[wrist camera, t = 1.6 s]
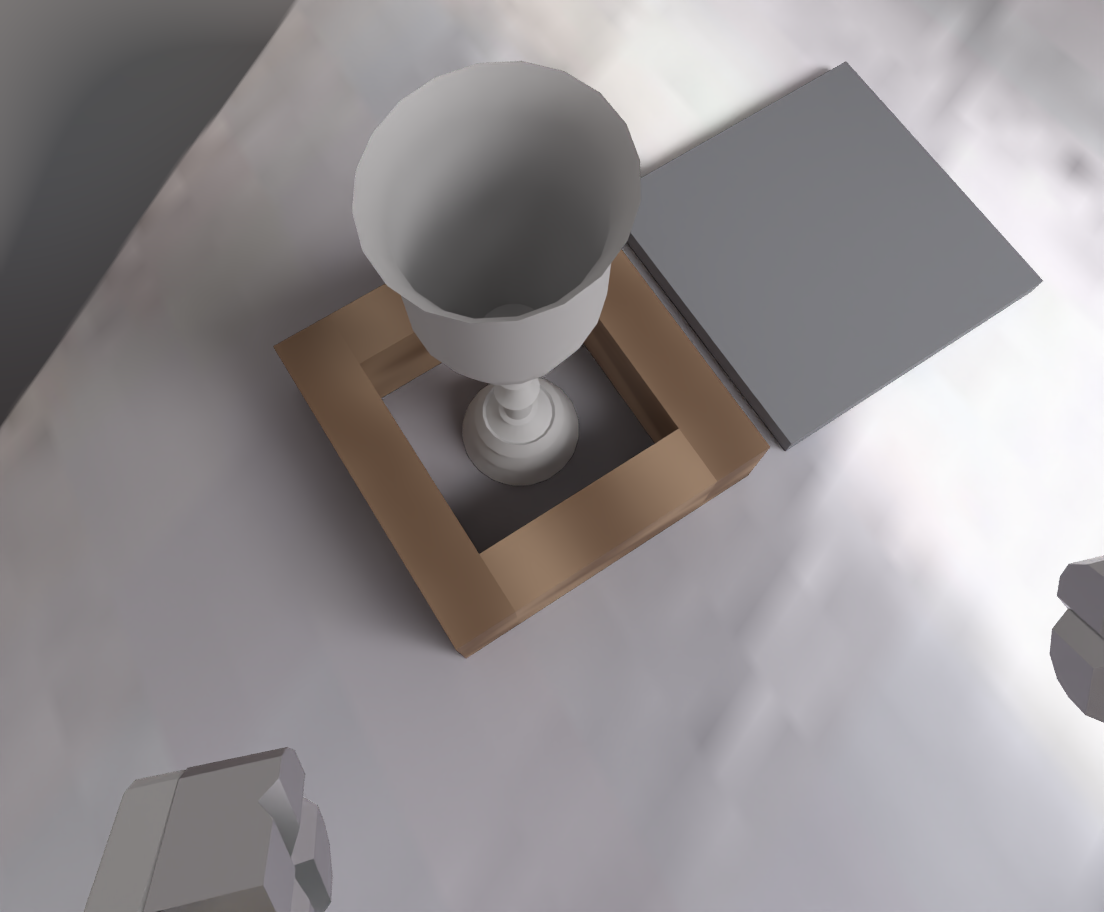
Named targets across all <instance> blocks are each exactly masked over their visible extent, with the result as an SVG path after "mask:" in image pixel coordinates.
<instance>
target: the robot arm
mask: <svg viewBox="0 0 1104 912" xmlns="http://www.w3.org/2000/svg"><path fill="white" fill-rule="evenodd" d="M1057 596H1058V598H1059V599H1060V600H1061V601H1062V602H1063V604H1064V605H1065V606H1066V607H1067V608H1068V610H1067V611H1066V612H1065V613H1064V615H1063V616H1062V617H1061V618H1060V620H1059V621H1058V622H1057V623H1056V625H1055V626H1054V627H1053V628H1052V635H1051V646H1050V656H1051V660H1052V663H1053V666H1054V670H1055V673H1056V676H1057V679H1058V681H1059V683H1060V684H1061V686H1062V687H1063V689H1064V691H1065V692H1066V694H1067V695H1068V697H1069V698H1070V699H1071V700H1072V701H1073V702H1074V703H1075V704H1076V706H1077V707H1078V708H1079V709H1080V710H1081V711H1082V712H1083V713H1084V714H1085V715H1087V716H1089V717H1091V718H1094V719H1096V720H1099V721H1101V722H1103V723H1104V555H1103V556H1099V557H1095V558H1091V559H1087V560H1083V561H1079V562H1075V563H1071V564H1068V566H1067V567H1066V569H1065V570H1064V571H1063V573H1062V574H1061V576H1060V580H1059V586H1058V592H1057ZM304 781H305V772H304V770H303V767H302V765H301V763H300V761H299V759H298V756H297V754H296V752H295V750H293V749H291V748H288V747H285V748H280V749H275V750H270V751H266V752H261V753H256V754H251V755H247V756H242V757H237V758H232V759H227V760H223V761H218V762H213V763H208V764H204V765H199V766H194V767H189V768H187V769H186V770H181V771H176V772H171V773H166V774H161V775H156V776H152V777H147V778H142V779H137V780H135V781H134V782H133V783H132V784H131V785H130V786H129V787H128V789H127V790H126V791H125V793H124V794H123V797H122V800H121V803H120V806H119V809H118V812H117V815H116V818H115V821H114V824H113V827H112V830H111V832H110V835H109V838H108V841H107V844H106V847H105V850H104V853H103V856H102V859H101V862H100V865H99V868H98V871H97V874H96V877H95V880H94V883H93V886H92V889H91V892H90V895H89V898H88V901H87V903H86V906H85V909H84V912H325V910H326V909H327V907H328V906H329V904H330V903H331V896H332V864H331V853H330V844H329V839H328V835H327V831H326V827H325V823H324V820H323V817H322V815H321V812H320V809H319V807H318V805H317V804H315V803H313V802H312V801H310V800H308V799H306V798H304V797H303V791H304Z"/></svg>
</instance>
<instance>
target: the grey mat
mask: <svg viewBox="0 0 1104 912" xmlns="http://www.w3.org/2000/svg"><path fill="white" fill-rule="evenodd" d="M640 191H641V202H640V205H639V208H638V211H637V214H636V217H635V220H634V223H633V226H632V229H631V232H630V235H629V238H628V241H627V242H628V244H629V245H630V246H631V248H632V249H633V250H634V252H635V253H636V254H637V256H638V257H639V258H640V260H641V261H642V262H643V264H644V265H645V266H646V268H647V269H648V270H649V272H650V273H651V274H652V276H653V277H654V278H655V279H656V281H657V282H658V283H659V285H660V286H661V287H662V289H663V290H664V291H665V293H666V294H667V295H668V297H669V298H670V299H671V301H672V302H673V303H674V305H675V306H676V307H677V309H678V310H679V311H680V312H681V314H682V315H683V316H684V318H685V319H686V320H687V322H688V323H689V324H690V326H691V327H692V328H693V330H694V331H695V332H696V334H697V335H698V336H699V338H700V339H701V340H702V342H703V343H704V344H705V346H706V347H707V348H708V349H709V351H710V352H711V353H712V355H713V356H714V357H715V359H716V360H717V361H718V363H719V364H720V365H721V367H722V368H723V369H724V371H725V372H726V373H727V375H728V376H729V377H730V379H731V380H732V381H733V382H734V384H735V385H736V386H737V388H738V389H739V390H740V392H741V393H742V394H743V396H744V397H745V398H746V400H747V401H748V402H749V404H750V405H751V406H752V408H753V409H754V410H755V412H756V413H757V414H758V416H759V417H760V418H761V419H762V421H763V422H764V423H765V425H766V426H767V427H768V429H769V430H770V431H771V433H772V434H773V435H774V437H775V438H776V439H777V441H778V442H779V443H780V445H781V446H782V447H783V449H784V450H785V451H786V450H788V449H790V448H791V447H793V446H794V445H796V444H797V443H799V442H800V441H802V440H803V439H805V438H806V437H808V436H810V435H811V434H813V433H814V432H816V431H817V430H819V429H820V428H822V427H823V426H825V425H826V424H828V423H830V422H831V421H833V420H834V419H836V418H837V417H839V416H840V415H842V414H843V413H845V412H847V411H848V410H850V409H851V408H853V407H854V406H856V405H857V404H859V403H860V402H862V401H863V400H865V399H867V398H868V397H870V396H871V395H873V394H874V393H876V392H877V391H879V390H880V389H882V388H883V387H885V386H887V385H888V384H890V383H891V382H893V381H894V380H896V379H897V378H899V377H900V376H902V375H904V374H905V373H907V372H908V371H910V370H911V369H913V368H914V367H916V366H917V365H919V364H920V363H922V362H924V361H925V360H927V359H928V358H930V357H931V356H933V355H934V354H936V353H937V352H939V351H940V350H942V349H944V348H945V347H947V346H948V345H950V344H951V343H953V342H954V341H956V340H957V339H959V338H961V337H962V336H964V335H965V334H967V333H968V332H970V331H971V330H973V329H974V328H976V327H977V326H979V325H981V324H982V323H984V322H985V321H987V320H988V319H990V318H991V317H993V316H994V315H996V314H997V313H999V312H1001V311H1002V310H1004V309H1005V308H1007V307H1008V306H1010V305H1011V304H1013V303H1014V302H1016V301H1018V300H1019V299H1021V298H1022V297H1024V296H1025V295H1027V294H1028V293H1030V292H1031V291H1032V290H1034V289H1035V288H1036V287H1037V286H1038V285H1039V284H1040V283H1041V282H1042V281H1043V280H1042V279H1041V278H1040V277H1039V276H1038V275H1037V274H1036V272H1035V271H1034V270H1033V269H1032V268H1031V267H1030V266H1029V265H1028V263H1027V262H1026V261H1025V260H1024V259H1023V258H1022V257H1021V256H1020V255H1019V253H1018V252H1017V251H1016V250H1015V249H1014V248H1013V247H1012V246H1011V245H1010V243H1009V242H1008V241H1007V240H1006V239H1005V238H1004V237H1003V236H1002V235H1001V233H1000V232H999V231H998V230H997V229H996V228H995V227H994V226H993V225H992V223H991V222H990V221H989V220H988V219H987V218H986V217H985V216H984V214H983V213H982V212H981V211H980V210H979V209H978V208H977V207H976V206H975V204H974V203H973V202H972V201H971V200H970V199H969V198H968V197H967V196H966V194H965V193H964V192H963V191H962V190H961V189H960V188H959V187H958V186H957V184H956V183H955V182H954V181H953V180H952V179H951V178H950V177H949V175H948V174H947V173H946V172H945V171H944V170H943V169H942V168H941V167H940V165H939V164H938V163H937V162H936V161H935V160H934V159H933V158H932V157H931V155H930V154H929V153H928V152H927V151H926V150H925V149H924V148H923V147H922V145H921V144H920V143H919V142H918V141H917V140H916V139H915V138H914V137H913V135H912V134H911V133H910V132H909V131H908V130H907V129H906V128H905V126H904V125H903V124H902V123H901V122H900V121H899V120H898V119H897V118H896V116H895V115H894V114H893V113H892V112H891V111H890V110H889V109H888V108H887V106H886V105H885V104H884V103H883V102H882V101H881V100H880V99H879V98H878V96H877V95H876V94H875V93H874V92H873V91H872V90H871V89H870V88H869V86H868V85H867V84H866V83H865V82H864V81H863V80H862V79H861V77H860V76H859V75H858V74H857V73H856V72H855V71H854V70H853V69H852V67H851V66H850V65H849V64H848V63H847V62H844V63H842V64H841V65H839V66H837V67H835V68H833V69H832V70H830V71H828V72H826V73H825V74H823V75H821V76H819V77H818V78H816V79H814V80H812V81H811V82H809V83H807V84H805V85H804V86H802V87H800V88H798V89H797V90H795V91H793V92H791V93H790V94H788V95H786V96H784V97H782V98H781V99H779V100H777V101H775V102H774V103H772V104H770V105H768V106H767V107H765V108H763V109H761V110H760V111H758V112H756V113H754V114H753V115H751V116H749V117H747V118H746V119H744V120H742V121H740V122H738V123H737V124H735V125H733V126H731V127H730V128H728V129H726V130H724V131H723V132H721V133H719V134H717V135H716V136H714V137H712V138H710V139H709V140H707V141H705V142H703V143H702V144H700V145H698V146H696V147H695V148H693V149H691V150H689V151H687V152H686V153H684V154H682V155H680V156H679V157H677V158H675V159H673V160H672V161H670V162H668V163H666V164H665V165H663V166H661V167H659V168H658V169H656V170H654V171H652V172H651V173H649V174H647V175H645V176H644V177H642V178H640Z"/></svg>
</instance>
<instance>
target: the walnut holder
mask: <svg viewBox="0 0 1104 912" xmlns="http://www.w3.org/2000/svg"><path fill="white" fill-rule="evenodd" d="M583 343H584V345H585V346H586V347H587V349H588V350H589V352H590V353H591V354H592V356H593V357H594V359H595V360H596V361H597V363H598V364H599V366H600V367H601V368H602V370H603V371H604V373H605V374H606V375H607V377H608V378H609V380H610V381H611V382H612V384H613V385H614V387H615V388H616V389H617V391H618V392H619V394H620V395H621V396H622V398H623V399H624V401H625V402H626V403H627V405H628V406H629V408H630V409H631V410H632V412H633V413H634V415H635V416H636V417H637V419H638V420H639V422H640V423H641V424H642V426H643V427H644V429H645V430H646V431H647V433H648V434H649V436H650V437H651V438H652V440H653V441H654V443H655V444H654V445H652V446H650V447H649V448H647V449H646V450H644V451H642V452H641V453H639V454H638V455H636V456H634V457H633V458H631V459H630V460H628V461H627V462H625V463H623V464H622V465H620V466H619V467H617V468H615V469H614V470H612V471H611V472H609V473H607V474H606V475H604V476H603V477H601V478H599V479H598V480H596V481H595V482H593V483H592V484H590V485H588V486H587V487H585V488H584V489H582V490H580V491H579V492H577V493H576V494H574V495H572V496H571V497H569V498H568V499H566V500H564V501H563V502H561V503H560V504H558V505H557V506H555V507H553V508H552V509H550V510H549V511H547V512H545V513H544V514H542V515H541V516H539V517H537V518H536V519H534V520H533V521H531V522H530V523H528V524H526V525H525V526H523V527H522V528H520V529H518V530H517V531H515V532H514V533H512V534H510V535H509V536H507V537H506V538H504V539H502V540H501V541H499V542H498V543H496V544H495V545H493V546H491V547H490V548H488V549H487V550H485V551H483V552H482V553H480V554H479V553H478V551H477V550H476V548H475V547H474V545H473V543H472V542H471V540H470V539H469V537H468V535H467V534H466V532H465V531H464V529H463V528H462V526H461V524H460V523H459V521H458V520H457V518H456V516H455V515H454V513H453V512H452V510H451V508H450V507H449V505H448V504H447V502H446V501H445V499H444V497H443V496H442V494H441V493H440V491H439V489H438V488H437V486H436V485H435V483H434V482H433V480H432V478H431V477H430V475H429V474H428V472H427V470H426V469H425V467H424V466H423V464H422V462H421V461H420V459H419V458H418V456H417V455H416V453H415V451H414V450H413V448H412V447H411V445H410V443H409V442H408V440H407V439H406V437H405V435H404V434H403V432H402V431H401V429H400V428H399V426H398V424H397V423H396V421H395V420H394V418H393V416H392V415H391V413H390V412H389V410H388V408H387V407H386V405H385V404H384V402H383V401H382V399H381V398H382V397H384V396H386V395H387V394H389V393H391V392H392V391H394V390H396V389H398V388H399V387H401V386H403V385H404V384H406V383H408V382H410V381H411V380H413V379H415V378H416V377H418V376H420V375H422V374H423V373H425V372H427V371H428V370H430V369H432V368H434V367H435V366H437V365H439V364H440V363H442V362H440V361H439V360H437V359H436V358H434V357H433V356H431V355H430V353H429V352H428V351H427V349H426V348H425V346H424V345H423V344H422V342H421V341H420V339H419V338H418V337H417V335H416V334H415V332H414V331H413V329H412V326H411V323H410V320H409V317H408V314H407V312H406V309H405V306H404V303H403V300H402V297H401V295H400V294H398V293H397V292H395V291H394V290H393V289H391V288H390V287H388V286H387V285H386V284H384V285H382V286H380V287H378V288H376V289H375V290H373V291H371V292H369V293H367V294H366V295H364V296H362V297H360V298H359V299H357V300H355V301H353V302H351V303H350V304H348V305H346V306H344V307H342V308H341V309H339V310H337V311H335V312H334V313H332V314H330V315H328V316H326V317H325V318H323V319H321V320H319V321H317V322H316V323H314V324H312V325H310V326H309V327H307V328H305V329H303V330H301V331H300V332H298V333H296V334H294V335H292V336H291V337H289V338H287V339H285V340H284V341H282V342H280V343H278V344H276V345H275V346H273V347H274V349H275V350H276V352H277V354H278V355H279V357H280V359H281V360H282V362H283V364H284V365H285V367H286V369H287V370H288V372H289V374H290V375H291V377H292V379H293V380H294V382H295V384H296V385H297V387H298V389H299V390H300V392H301V394H302V395H303V397H304V399H305V400H306V402H307V404H308V405H309V407H310V409H311V410H312V412H313V413H314V415H315V417H316V418H317V420H318V422H319V423H320V425H321V427H322V428H323V430H324V432H325V433H326V435H327V437H328V438H329V440H330V442H331V443H332V445H333V447H334V448H335V450H336V452H337V453H338V455H339V457H340V458H341V460H342V462H343V463H344V465H345V467H346V468H347V470H348V472H349V473H350V475H351V476H352V478H353V480H354V481H355V483H356V485H357V486H358V488H359V490H360V491H361V493H362V495H363V496H364V498H365V500H366V501H367V503H368V505H369V506H370V508H371V510H372V511H373V513H374V515H375V516H376V518H377V520H378V521H379V523H380V525H381V526H382V528H383V530H384V531H385V533H386V535H387V536H388V538H389V539H390V541H391V543H392V544H393V546H394V548H395V549H396V551H397V553H398V554H399V556H400V558H401V559H402V561H403V563H404V564H405V566H406V568H407V569H408V571H409V573H410V574H411V576H412V578H413V579H414V581H415V583H416V584H417V586H418V588H419V589H420V591H421V593H422V594H423V596H424V598H425V599H426V601H427V602H428V604H429V606H430V607H431V609H432V611H433V612H434V614H435V616H436V617H437V619H438V621H439V622H440V624H441V626H442V627H443V629H444V631H445V632H446V634H447V636H448V637H449V639H450V641H451V642H452V644H453V646H454V647H455V649H456V650H457V651H458V652H459V653H460V654H462V655H463V656H464V657H465V658H468V657H469V656H471V655H472V654H474V653H475V652H477V651H478V650H480V649H481V648H483V647H484V646H486V645H488V644H489V643H491V642H492V641H494V640H495V639H497V638H498V637H500V636H501V635H503V634H505V633H506V632H508V631H509V630H511V629H512V628H514V627H515V626H517V625H518V624H520V623H521V622H523V621H525V620H526V619H528V618H529V617H531V616H532V615H534V614H535V613H537V612H538V611H540V610H541V609H543V608H545V607H546V606H548V605H549V604H551V603H552V602H554V601H555V600H557V599H558V598H560V597H562V596H563V595H565V594H566V593H568V592H569V591H571V590H572V589H574V588H575V587H577V586H578V585H580V584H582V583H583V582H585V581H586V580H588V579H589V578H591V577H592V576H594V575H595V574H597V573H598V572H600V571H602V570H603V569H605V568H606V567H608V566H609V565H611V564H612V563H614V562H615V561H617V560H619V559H620V558H622V557H623V556H625V555H626V554H628V553H629V552H631V551H632V550H634V549H635V548H637V547H639V546H640V545H642V544H643V543H645V542H646V541H648V540H649V539H651V538H652V537H654V536H655V535H657V534H659V533H660V532H662V531H663V530H665V529H666V528H668V527H669V526H671V525H672V524H674V523H676V522H677V521H679V520H680V519H682V518H683V517H685V516H686V515H688V514H689V513H691V512H692V511H694V510H696V509H697V508H699V507H700V506H702V505H703V504H705V503H706V502H708V501H709V500H711V499H712V498H714V497H716V496H717V495H719V494H720V493H722V492H723V491H725V490H726V489H728V488H729V487H731V486H733V485H734V484H736V483H737V482H739V481H740V480H742V479H743V478H745V477H746V476H748V475H749V473H750V472H751V471H752V470H753V468H754V467H755V466H756V465H757V463H758V462H759V461H760V459H761V458H762V457H763V456H764V454H765V453H766V452H767V450H768V449H769V448H770V446H769V445H768V443H767V442H766V441H765V439H764V438H763V437H762V435H761V434H760V433H759V431H758V430H757V429H756V427H755V426H754V425H753V423H752V422H751V421H750V419H749V418H748V417H747V415H746V414H745V413H744V411H743V410H742V409H741V407H740V406H739V405H738V404H737V402H736V401H735V400H734V398H733V397H732V396H731V394H730V393H729V392H728V390H727V389H726V388H725V386H724V385H723V384H722V382H721V381H720V380H719V378H718V377H717V376H716V374H715V373H714V372H713V370H712V369H711V368H710V366H709V365H708V364H707V362H706V361H705V360H704V358H703V357H702V356H701V354H700V353H699V352H698V350H697V349H696V348H695V346H694V345H693V344H692V342H691V341H690V340H689V338H688V337H687V336H686V334H685V333H684V332H683V330H682V329H681V328H680V326H679V325H678V324H677V322H676V321H675V320H674V319H673V317H672V316H671V315H670V313H669V312H668V311H667V309H666V308H665V307H664V305H663V304H662V303H661V301H660V300H659V299H658V297H657V296H656V295H655V293H654V292H653V291H652V289H651V288H650V287H649V285H648V284H647V283H646V281H645V280H644V279H643V277H642V276H641V275H640V273H639V272H638V271H637V269H636V268H635V267H634V265H633V264H632V263H631V261H630V260H629V259H628V257H627V256H626V255H625V253H624V252H623V251H622V249H621V250H620V252H619V253H618V254H617V256H616V257H615V259H614V260H613V261H612V263H611V268H610V276H609V283H608V291H607V296H606V299H605V302H604V305H603V308H602V311H601V314H600V317H599V320H598V323H597V324H596V326H595V327H594V328H593V330H592V331H591V333H590V334H589V335H588V337H587V338H586V339H585V341H584V342H583Z"/></svg>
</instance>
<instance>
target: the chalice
mask: <svg viewBox="0 0 1104 912" xmlns="http://www.w3.org/2000/svg"><path fill="white" fill-rule="evenodd" d="M640 202H641V191H640V159H639V157H638V154H637V151H636V149H635V146H634V143H633V140H632V138H631V135H630V132H629V130H628V127H627V124H626V123H625V122H624V120H623V119H622V118H621V117H620V116H619V115H618V113H617V112H616V111H615V110H614V109H613V107H612V106H611V105H610V104H609V103H608V102H607V100H606V99H605V98H604V97H603V96H602V94H601V93H600V92H598V91H596V90H595V89H593V88H591V87H590V86H588V85H586V84H585V83H583V82H581V81H580V80H578V79H576V78H575V77H573V76H571V75H570V74H568V73H566V72H565V71H561V70H557V69H553V68H549V67H544V66H540V65H536V64H532V63H528V62H524V61H514V62H493V63H477V64H474V65H471V66H468V67H465V68H462V69H459V70H456V71H453V72H450V73H447V74H444V75H441V76H438V77H435V78H434V79H432V80H431V81H429V82H428V83H426V84H425V85H423V86H422V87H420V88H419V89H417V90H416V91H414V92H413V93H411V94H410V95H408V96H407V97H405V98H404V99H402V100H401V101H400V102H399V103H398V104H397V105H396V106H395V107H394V108H393V110H392V111H391V112H390V113H389V114H388V115H387V117H386V118H385V119H384V120H383V121H382V122H381V124H380V125H379V126H378V127H377V128H376V129H375V130H374V132H373V133H372V135H371V137H370V140H369V142H368V144H367V146H366V149H365V151H364V153H363V155H362V158H361V160H360V162H359V164H358V167H357V169H356V174H355V184H354V194H353V204H352V213H353V217H354V221H355V225H356V229H357V233H358V236H359V240H360V244H361V248H362V251H363V253H364V254H365V255H366V257H367V258H368V260H369V261H370V262H371V264H372V265H373V267H374V268H375V270H376V271H377V272H378V274H379V275H380V277H381V278H382V279H383V281H384V282H385V284H386V285H387V286H388V287H390V288H391V289H393V290H394V291H395V292H397V293H398V294H400V295H401V297H402V300H403V303H404V306H405V309H406V312H407V314H408V317H409V320H410V323H411V326H412V329H413V331H414V332H415V334H416V335H417V337H418V338H419V339H420V341H421V342H422V344H423V345H424V346H425V348H426V349H427V351H428V352H429V353H430V355H431V356H433V357H434V358H436V359H437V360H439V361H440V362H442V363H443V364H445V365H446V366H447V367H449V368H450V369H452V370H453V371H455V372H456V373H458V374H461V375H463V376H466V377H468V378H471V379H474V380H478V381H481V382H485V383H489V385H487V386H486V387H484V388H483V389H481V390H480V391H479V392H478V393H477V395H476V396H475V397H474V399H473V400H472V401H471V402H470V404H469V405H468V408H467V411H466V414H465V417H464V419H463V437H462V439H463V442H464V445H465V448H466V451H467V454H468V457H469V458H470V459H471V460H472V462H473V463H474V464H475V466H476V467H477V468H478V470H479V471H481V472H482V473H484V474H485V475H487V476H488V477H490V478H491V479H493V480H494V481H498V482H501V483H505V484H508V485H511V486H515V485H532V484H535V483H538V482H541V481H544V480H547V479H549V478H550V477H552V476H553V475H554V474H556V473H557V472H559V471H560V470H561V469H563V468H564V466H565V465H566V463H567V462H568V461H569V459H570V458H571V456H572V455H573V454H574V451H575V447H576V444H577V441H578V438H579V423H578V417H577V414H576V411H575V409H574V406H573V403H572V402H571V401H570V399H569V398H568V397H567V396H566V394H565V393H564V392H563V391H562V389H560V388H559V387H557V386H556V385H554V384H553V383H551V382H550V381H548V380H546V379H543V378H539V377H541V376H544V375H546V374H547V373H548V372H550V371H551V370H552V369H553V368H555V367H556V366H557V365H559V364H560V363H561V362H563V361H564V360H565V359H567V358H568V357H569V356H570V355H571V354H573V353H574V352H575V351H576V350H578V349H579V348H580V346H581V345H582V344H583V342H584V341H585V339H586V338H587V337H588V335H589V334H590V333H591V331H592V330H593V328H594V327H595V326H596V324H597V323H598V320H599V317H600V314H601V311H602V308H603V305H604V302H605V299H606V296H607V291H608V283H609V276H610V268H611V263H612V261H613V260H614V259H615V257H616V256H617V254H618V253H619V252H620V250H621V249H622V248H623V246H624V245H625V244H626V242H627V241H628V238H629V235H630V232H631V229H632V226H633V223H634V220H635V217H636V214H637V211H638V208H639V205H640Z"/></svg>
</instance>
